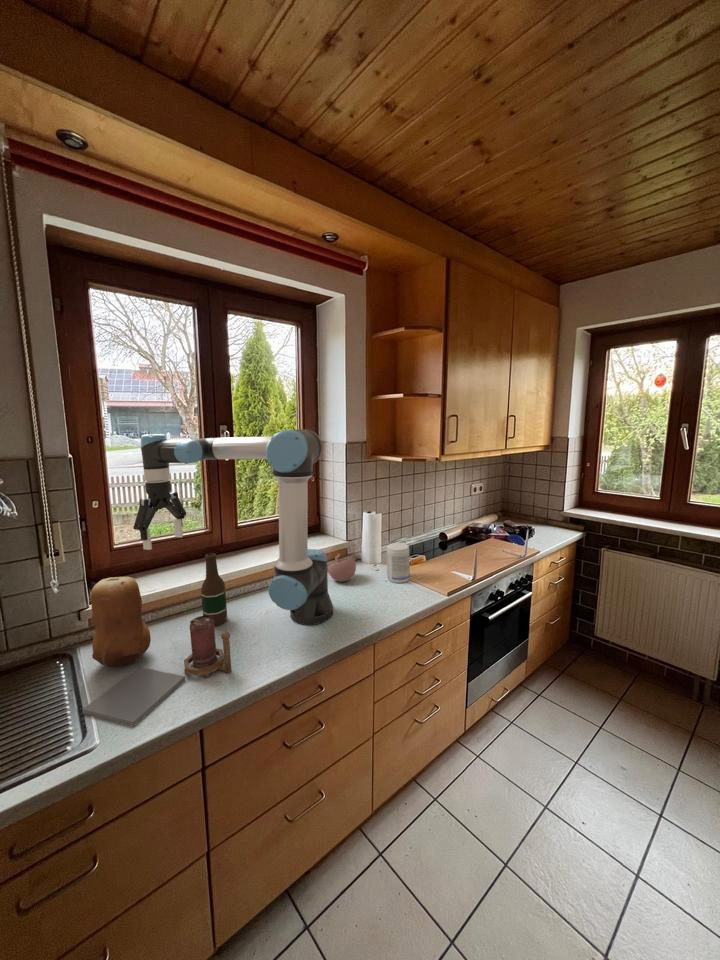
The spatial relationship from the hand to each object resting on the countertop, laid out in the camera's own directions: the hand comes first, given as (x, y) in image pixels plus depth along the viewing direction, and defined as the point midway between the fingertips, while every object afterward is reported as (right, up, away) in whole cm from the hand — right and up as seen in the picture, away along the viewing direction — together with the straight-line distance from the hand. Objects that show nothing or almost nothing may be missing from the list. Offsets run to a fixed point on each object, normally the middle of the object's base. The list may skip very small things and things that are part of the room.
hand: (164, 542), depth 128 cm
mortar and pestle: (+59, -22, +33) cm, 71 cm away
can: (+24, -31, -23) cm, 45 cm away
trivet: (+11, -32, -34) cm, 48 cm away
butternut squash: (-1, -31, -21) cm, 37 cm away
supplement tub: (+83, -21, +33) cm, 92 cm away
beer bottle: (+17, -27, +1) cm, 32 cm away
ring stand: (+25, -31, -24) cm, 46 cm away
